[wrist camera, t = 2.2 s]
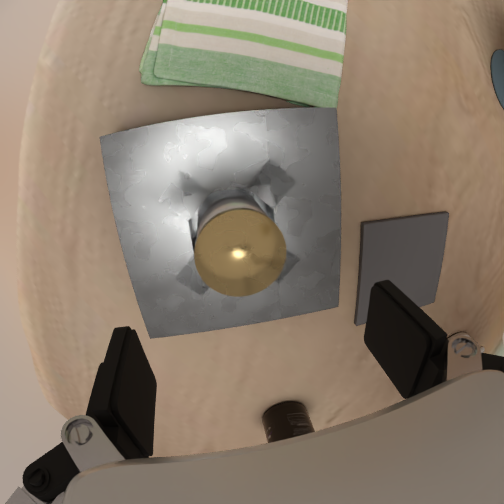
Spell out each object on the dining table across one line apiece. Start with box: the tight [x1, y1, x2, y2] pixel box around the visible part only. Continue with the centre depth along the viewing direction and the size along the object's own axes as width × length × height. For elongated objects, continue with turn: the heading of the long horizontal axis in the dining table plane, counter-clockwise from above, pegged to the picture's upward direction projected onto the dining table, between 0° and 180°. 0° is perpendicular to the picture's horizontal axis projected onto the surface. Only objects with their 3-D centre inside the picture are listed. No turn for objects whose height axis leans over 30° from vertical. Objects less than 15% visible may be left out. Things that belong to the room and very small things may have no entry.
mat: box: [354, 212, 449, 326], centre depth 33 cm, size 13×13×1 cm
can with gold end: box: [194, 188, 287, 297], centre depth 22 cm, size 6×6×8 cm
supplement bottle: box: [263, 402, 315, 443], centre depth 34 cm, size 7×7×12 cm
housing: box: [100, 107, 341, 339], centre depth 25 cm, size 18×18×4 cm
